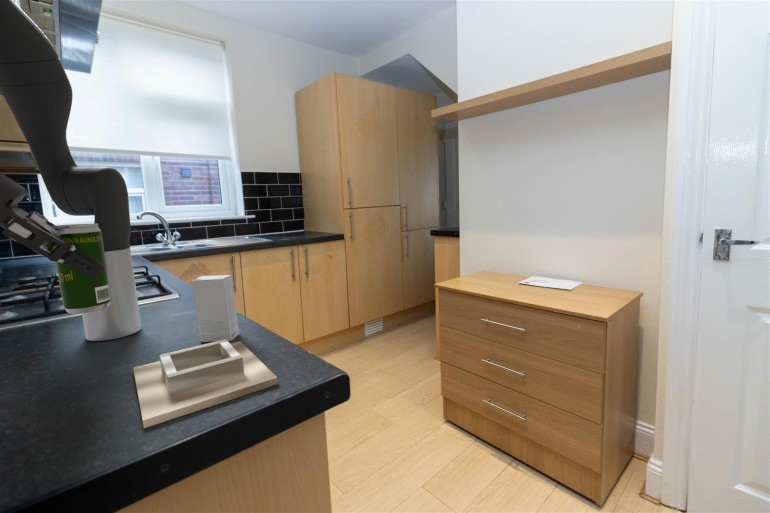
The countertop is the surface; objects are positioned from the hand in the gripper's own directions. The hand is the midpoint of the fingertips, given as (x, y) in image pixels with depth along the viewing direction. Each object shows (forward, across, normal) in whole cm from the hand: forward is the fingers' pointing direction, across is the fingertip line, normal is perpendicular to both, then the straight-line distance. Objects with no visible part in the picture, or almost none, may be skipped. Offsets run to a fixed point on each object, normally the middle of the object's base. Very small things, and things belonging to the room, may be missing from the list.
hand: (99, 269), depth 53 cm
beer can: (+3, 0, +5) cm, 6 cm away
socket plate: (+19, -9, +4) cm, 22 cm away
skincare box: (+23, +7, 0) cm, 24 cm away
